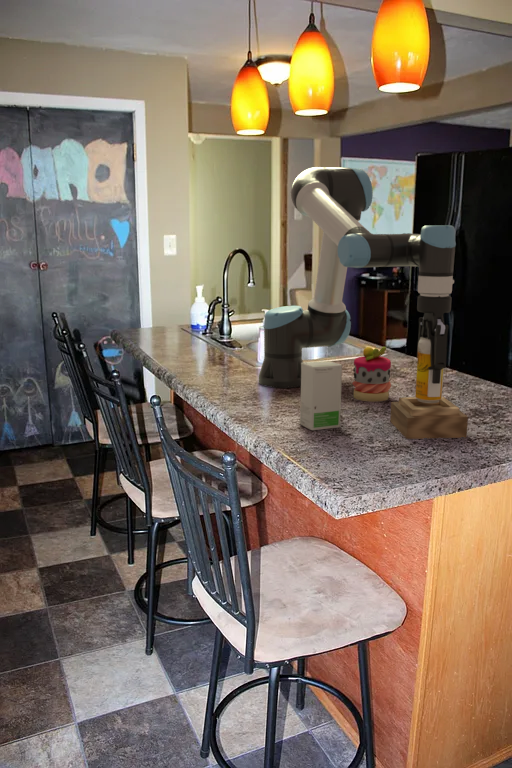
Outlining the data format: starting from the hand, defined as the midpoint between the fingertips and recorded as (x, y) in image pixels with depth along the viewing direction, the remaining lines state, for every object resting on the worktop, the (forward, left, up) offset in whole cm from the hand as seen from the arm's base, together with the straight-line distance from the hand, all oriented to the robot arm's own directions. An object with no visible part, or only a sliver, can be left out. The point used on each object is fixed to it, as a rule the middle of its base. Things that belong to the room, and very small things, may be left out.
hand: (428, 392), depth 155 cm
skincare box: (-25, +5, -9) cm, 27 cm away
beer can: (0, 0, -2) cm, 2 cm away
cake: (-6, +31, -9) cm, 33 cm away
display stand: (0, 0, -9) cm, 9 cm away
